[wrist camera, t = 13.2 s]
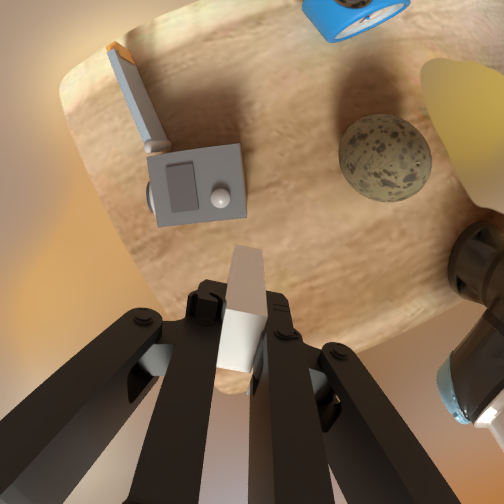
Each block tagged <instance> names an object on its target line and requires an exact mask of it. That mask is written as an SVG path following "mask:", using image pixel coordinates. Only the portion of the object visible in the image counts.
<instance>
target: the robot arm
mask: <svg viewBox="0 0 504 504" xmlns="http://www.w3.org/2000/svg"><path fill="white" fill-rule="evenodd" d="M448 279H449V283H450V285H451V287H452V289H453V290H454V291H455V292H456V293H457V294H458V295H459V296H460V297H462V298H464V299H466V300H469V301H473V302H476V303H480V304H482V305H485V306H486V307H487V309H486V311H485V312H484V314H483V315H482V316H481V318H480V319H479V320H478V322H477V323H476V324H475V326H474V327H473V328H472V329H471V331H470V332H469V333H468V334H467V336H466V337H465V338H464V339H463V340H462V342H461V343H460V344H459V345H458V346H457V347H456V349H455V350H454V351H452V352H451V353H450V355H449V357H448V358H447V360H446V361H445V362H444V363H443V365H442V366H441V367H440V368H439V370H438V372H437V379H436V381H437V387H438V390H439V394H440V396H441V398H442V400H443V402H444V404H445V406H446V408H447V409H448V411H449V412H450V413H452V414H453V416H454V418H455V419H456V420H457V421H458V422H460V423H462V424H467V423H471V422H472V423H473V425H474V426H475V427H476V428H488V429H489V431H490V432H491V434H492V435H493V437H494V438H495V440H496V441H497V442H498V444H499V446H500V448H501V449H502V451H503V452H504V233H503V232H502V231H501V230H500V229H499V228H498V227H497V226H495V225H493V224H491V223H489V222H486V221H481V222H477V223H475V224H473V225H471V226H470V227H468V228H467V229H466V230H465V231H464V232H463V234H462V235H461V236H460V238H459V239H458V241H457V242H456V244H455V246H454V248H453V251H452V253H451V256H450V260H449V266H448ZM216 367H219V368H224V369H230V370H235V371H241V372H247V373H251V370H252V367H253V375H252V378H251V381H250V384H249V387H248V390H247V393H246V395H249V393H250V420H249V475H248V504H335V501H334V495H333V489H332V483H331V478H330V472H329V467H328V464H329V466H330V468H331V470H332V472H333V474H334V477H335V479H336V480H337V483H338V485H339V487H340V489H341V491H342V493H343V495H344V497H345V499H346V501H347V503H348V504H461V503H460V501H459V500H458V498H457V497H456V495H455V494H454V492H453V491H452V489H451V488H450V486H449V485H448V483H447V482H446V480H445V479H444V477H443V476H442V474H441V473H440V472H439V470H438V469H437V467H436V466H435V464H434V463H433V462H432V460H431V458H430V457H429V456H428V454H427V453H426V451H425V450H424V448H423V447H422V446H421V444H420V443H419V441H418V440H417V439H416V437H415V436H414V434H413V433H412V431H411V430H410V428H409V427H408V426H407V424H406V423H405V421H404V420H403V419H402V417H401V416H400V415H399V413H398V412H397V410H396V409H395V407H394V406H393V405H392V403H391V402H390V401H389V399H388V398H387V396H386V395H385V394H384V392H383V391H382V390H381V388H380V387H379V385H378V384H377V383H376V381H375V380H374V379H373V377H372V376H371V374H370V373H369V372H368V370H367V369H366V368H365V366H364V365H363V364H362V362H361V361H360V359H359V358H358V357H357V355H356V354H355V353H354V352H353V351H352V350H351V349H350V348H349V347H347V346H346V345H344V344H341V343H336V342H330V343H326V344H325V345H324V346H323V347H322V350H321V349H318V348H315V347H312V346H309V345H307V344H305V343H304V342H303V339H302V336H301V334H300V333H299V332H298V331H297V330H296V329H294V328H293V323H292V318H291V313H290V308H289V303H288V300H287V299H286V297H285V296H284V295H283V294H281V293H276V292H271V291H266V288H265V275H264V263H263V251H262V250H261V249H256V248H251V247H247V246H242V245H237V244H235V247H234V252H233V256H232V261H231V266H230V271H229V275H228V280H227V284H226V283H221V282H217V281H212V280H207V279H206V280H204V281H203V282H201V283H200V284H199V287H198V290H196V291H193V292H191V293H190V294H189V295H188V300H187V307H186V315H185V318H183V319H181V320H177V321H163V320H162V316H161V315H160V314H159V313H158V312H156V311H154V310H152V309H149V308H134V309H131V310H130V311H128V312H127V313H125V314H124V315H123V316H121V317H120V318H119V319H118V320H117V321H115V322H114V323H113V324H112V325H110V326H109V327H108V328H107V329H106V330H104V331H103V332H102V333H101V334H100V335H98V336H97V337H96V338H95V339H94V340H92V341H91V342H90V343H89V344H88V345H86V346H85V347H84V348H83V349H82V350H80V351H79V352H78V353H77V354H76V355H75V356H73V357H72V358H71V359H70V360H69V361H67V362H66V363H65V364H64V365H63V366H62V367H60V368H59V369H58V370H57V371H56V372H55V373H53V374H52V375H51V376H50V377H49V378H48V379H46V380H45V381H44V382H43V383H42V384H41V385H40V386H39V387H37V388H36V389H35V390H34V391H33V392H32V393H31V394H29V395H28V396H27V397H26V398H25V399H24V400H23V401H22V402H20V403H19V404H18V405H17V406H16V407H15V408H14V409H13V410H12V411H11V412H10V413H8V414H7V415H6V416H5V417H4V418H3V419H2V420H1V421H0V504H63V502H64V501H65V500H66V498H67V497H68V496H69V495H70V493H71V492H72V491H73V489H74V488H75V487H76V486H77V484H78V483H79V482H80V480H81V479H82V478H83V477H84V475H85V474H86V473H87V471H88V470H89V469H90V468H91V466H92V465H93V464H94V462H95V461H96V460H97V458H98V457H99V456H100V455H101V453H102V452H103V451H104V449H105V448H106V447H107V446H108V444H109V443H110V442H111V440H112V439H113V438H114V436H115V435H116V434H117V432H118V431H119V430H120V429H121V427H122V426H123V425H124V423H125V422H126V421H127V420H128V418H129V417H130V415H131V414H132V413H133V412H134V410H135V409H136V408H137V406H138V405H139V404H140V403H141V401H142V400H143V399H144V397H145V396H146V395H147V394H148V392H149V391H150V390H151V388H152V387H153V386H154V384H155V383H156V382H157V381H158V379H159V376H164V379H163V383H162V386H161V389H160V392H159V395H158V398H157V401H156V405H155V408H154V410H153V414H152V417H151V420H150V423H149V427H148V430H147V433H146V437H145V440H144V443H143V446H142V450H141V453H140V457H139V460H138V464H137V467H136V471H135V474H134V478H133V482H132V485H131V489H130V492H129V496H128V497H127V499H126V500H125V501H124V502H123V503H122V504H198V501H199V492H200V485H201V476H202V469H203V460H204V452H205V445H206V438H207V429H208V422H209V415H210V408H211V401H212V394H213V387H214V380H215V373H216ZM336 396H338V398H339V400H340V402H339V401H338V400H337V398H336Z"/></svg>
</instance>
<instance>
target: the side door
mask: <svg viewBox="0 0 504 504" xmlns="http://www.w3.org/2000/svg"><path fill="white" fill-rule="evenodd" d="M106 49H107V55H108V57H109V60H110V62H111V65H112V68H113V70H114V73H115V75H116V78H117V80H118V83H119V85H120V88H121V90H122V93H123V95H124V98H125V100H126V102H127V105H128V107H129V110H130V112H131V114H132V117H133V119H134V122H135V124H136V126H137V129H138V131H139V133H140V135H141V138H142V140H143V142H144V150H145V151H146V152H147V153H152V152H159V151H167V150H170V149H171V147H172V144H171V142H170V141H168V139H167V137H166V135H165V132H164V130H163V128H162V125H161V123H160V121H159V119H158V116H157V114H156V112H155V109H154V107H153V105H152V103H151V100H150V98H149V96H148V93H147V91H146V89H145V86H144V84H143V81H142V79H141V77H140V74H139V72H138V70H137V67H136V65H135V62H134V61H133V58H132V56H131V53H130V51H129V50H128V49H126V48H125V47H123V46H122V45H120V44H119V43H117V42H116V41H114V42H113V43H111V44H109V45H108V46H106Z"/></svg>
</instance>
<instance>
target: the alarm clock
mask: <svg viewBox="0 0 504 504" xmlns="http://www.w3.org/2000/svg"><path fill="white" fill-rule="evenodd" d="M409 5H410V0H304V1H303V3H302V11H303V12H304V14H305V15H306V16H307V17H308V18H309V20H310V21H311V22H312V23H313V24H314V26H315V27H316V28H317V29H318V31H319V32H320V33H321V34H322V36H323V37H324V38H325V40H326V41H327V42H330V43H336V42H340V41H343V40H346V39H348V38H351V37H353V36H356V35H358V34H360V33H362V32H365V31H367V30H369V29H371V28H373V27H375V26H377V25H379V24H381V23H383V22H385V21H387V20H388V19H390V18H392V17H394V16H395V15H397V14H399V13H400V12H402V11H403V10H404V9H406V8H407V7H408V6H409Z"/></svg>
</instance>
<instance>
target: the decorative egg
mask: <svg viewBox="0 0 504 504" xmlns="http://www.w3.org/2000/svg"><path fill="white" fill-rule="evenodd" d="M339 163H340V167H341V170H342V173H343V175H344V176H345V178H346V180H347V181H348V183H349V184H350V185H351V186H352V187H353V188H354V189H355V190H356V191H357V192H359V193H360V194H362V195H363V196H365V197H367V198H369V199H372V200H375V201H380V202H397V201H402V200H405V199H407V198H409V197H411V196H413V195H415V194H416V193H417V192H418V191H419V190H421V189H422V187H423V186H424V185H425V183H426V182H427V180H428V178H429V176H430V173H431V168H432V156H431V152H430V149H429V146H428V144H427V142H426V140H425V138H424V137H423V136H422V134H421V133H420V132H419V131H418V130H417V129H416V128H415V127H414V126H413V125H411V124H410V123H409V122H407V121H405V120H403V119H401V118H399V117H396V116H393V115H389V114H372V115H368V116H365V117H362V118H360V119H358V120H357V121H355V122H354V123H353V124H352V125H350V127H349V128H348V129H347V130H346V132H345V133H344V135H343V137H342V139H341V142H340V146H339Z"/></svg>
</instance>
